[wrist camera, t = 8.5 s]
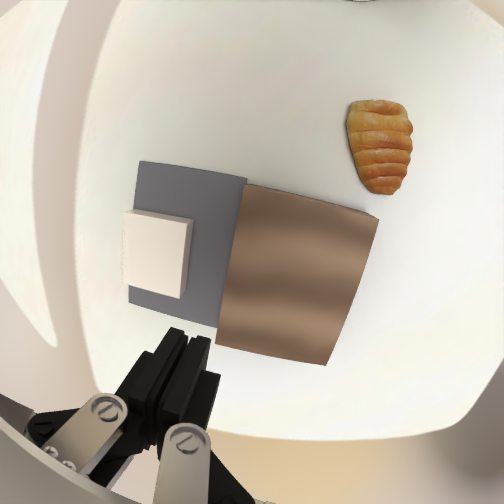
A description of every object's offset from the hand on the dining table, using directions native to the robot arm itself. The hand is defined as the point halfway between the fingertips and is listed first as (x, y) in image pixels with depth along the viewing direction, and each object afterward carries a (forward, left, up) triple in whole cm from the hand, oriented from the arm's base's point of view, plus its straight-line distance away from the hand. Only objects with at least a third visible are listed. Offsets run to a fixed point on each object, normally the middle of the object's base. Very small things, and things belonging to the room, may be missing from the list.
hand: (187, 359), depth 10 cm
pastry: (-13, +11, -19) cm, 26 cm away
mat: (+2, -7, -19) cm, 20 cm away
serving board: (+2, +5, -19) cm, 19 cm away
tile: (+3, -9, -16) cm, 19 cm away
